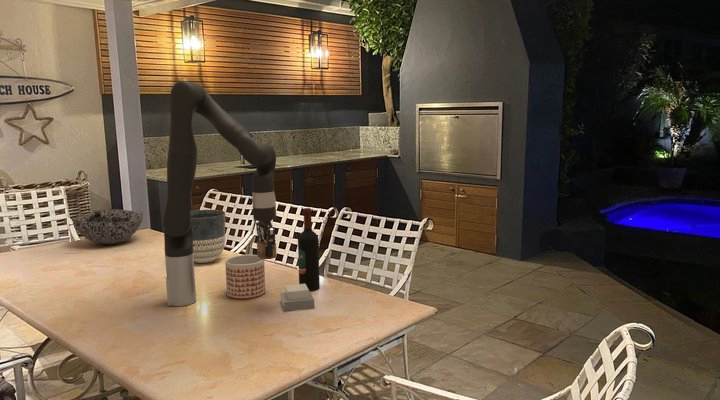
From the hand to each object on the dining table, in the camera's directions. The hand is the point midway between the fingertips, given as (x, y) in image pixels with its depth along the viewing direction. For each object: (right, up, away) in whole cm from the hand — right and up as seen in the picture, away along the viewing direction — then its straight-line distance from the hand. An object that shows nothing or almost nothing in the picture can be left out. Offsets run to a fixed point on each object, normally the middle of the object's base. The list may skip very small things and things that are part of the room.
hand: (266, 255), depth 182 cm
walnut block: (0, -1, 0) cm, 1 cm away
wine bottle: (+12, -15, +21) cm, 28 cm away
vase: (-10, -16, +16) cm, 25 cm away
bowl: (-94, -4, +93) cm, 132 cm away
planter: (-37, -9, +58) cm, 69 cm away
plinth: (+10, -17, +4) cm, 20 cm away
